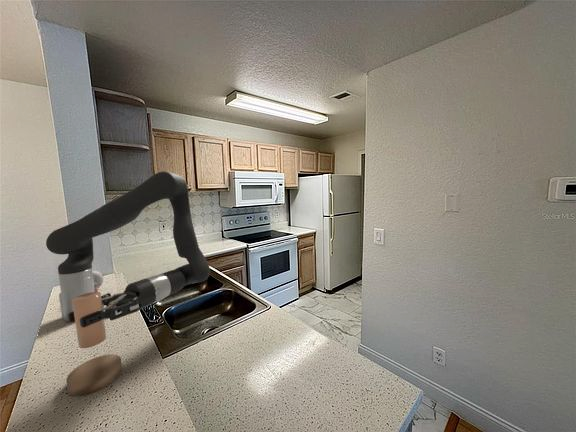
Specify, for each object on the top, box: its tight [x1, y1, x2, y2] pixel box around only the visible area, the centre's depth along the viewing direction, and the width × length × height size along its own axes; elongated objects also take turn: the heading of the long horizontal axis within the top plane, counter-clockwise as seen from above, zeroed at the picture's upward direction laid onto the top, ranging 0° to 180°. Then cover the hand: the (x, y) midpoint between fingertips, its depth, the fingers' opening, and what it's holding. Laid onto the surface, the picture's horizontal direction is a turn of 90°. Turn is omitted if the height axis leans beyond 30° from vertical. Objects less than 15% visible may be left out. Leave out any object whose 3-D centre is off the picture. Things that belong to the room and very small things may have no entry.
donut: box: [92, 270, 104, 290], centre depth 111 cm, size 10×4×10 cm, turn 140°
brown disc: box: [66, 353, 123, 397], centre depth 56 cm, size 10×10×2 cm
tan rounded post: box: [72, 291, 107, 349], centre depth 55 cm, size 5×5×11 cm
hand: (75, 320), depth 52 cm, fingers closed on tan rounded post, 5 cm apart
